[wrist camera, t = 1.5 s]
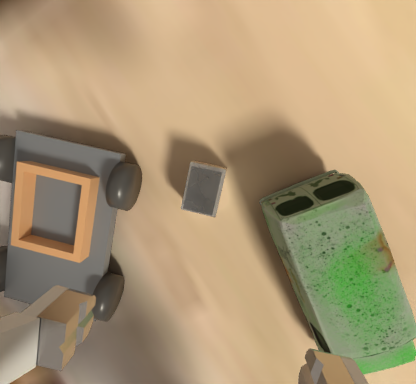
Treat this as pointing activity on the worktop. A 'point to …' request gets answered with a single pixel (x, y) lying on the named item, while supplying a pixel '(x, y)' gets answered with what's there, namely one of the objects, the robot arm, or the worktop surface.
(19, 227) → the chassis
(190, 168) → the grey wooden block
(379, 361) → the toy car
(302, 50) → the worktop surface
